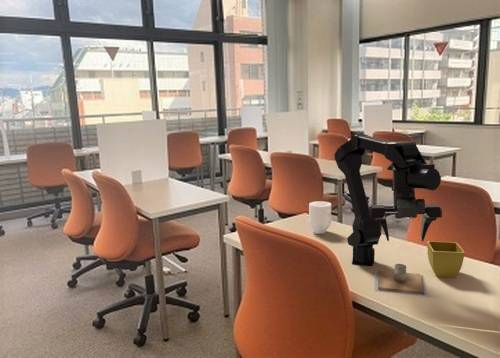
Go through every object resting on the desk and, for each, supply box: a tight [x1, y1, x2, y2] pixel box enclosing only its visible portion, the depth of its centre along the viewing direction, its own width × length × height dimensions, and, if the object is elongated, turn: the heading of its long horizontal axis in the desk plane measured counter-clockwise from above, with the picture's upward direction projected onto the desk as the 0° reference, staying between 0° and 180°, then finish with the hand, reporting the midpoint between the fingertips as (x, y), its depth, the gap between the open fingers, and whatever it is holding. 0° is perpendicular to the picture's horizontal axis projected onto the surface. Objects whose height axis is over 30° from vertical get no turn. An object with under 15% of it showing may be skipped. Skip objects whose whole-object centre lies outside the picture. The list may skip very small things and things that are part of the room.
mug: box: [308, 200, 333, 235], centre depth 167 cm, size 12×9×12 cm
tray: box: [374, 270, 429, 297], centre depth 120 cm, size 14×14×1 cm
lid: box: [377, 263, 424, 294], centre depth 120 cm, size 12×12×5 cm
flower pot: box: [426, 240, 466, 278], centre depth 125 cm, size 9×9×9 cm
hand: (404, 240), depth 118 cm, fingers open, 9 cm apart
